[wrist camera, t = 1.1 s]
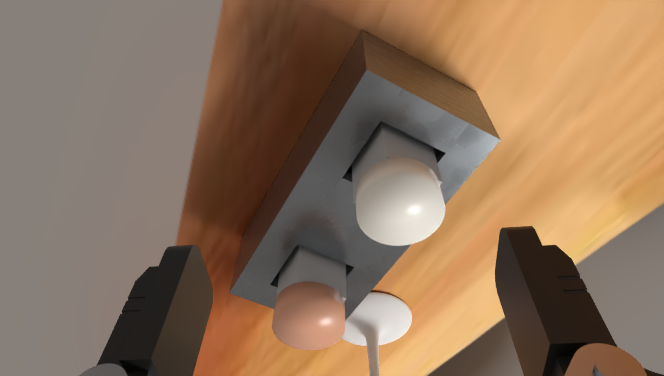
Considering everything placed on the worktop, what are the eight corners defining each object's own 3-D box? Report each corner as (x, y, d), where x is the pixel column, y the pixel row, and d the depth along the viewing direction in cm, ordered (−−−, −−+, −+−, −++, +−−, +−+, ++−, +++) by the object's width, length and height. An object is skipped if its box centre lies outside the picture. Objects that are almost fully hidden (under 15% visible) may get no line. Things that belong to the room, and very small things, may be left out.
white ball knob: (442, 137, 35) (463, 199, 29) (401, 190, 37) (412, 256, 32) (378, 104, 33) (386, 162, 27) (339, 162, 36) (340, 226, 30)
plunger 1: (355, 249, 41) (358, 318, 35) (325, 287, 44) (323, 357, 38) (298, 225, 39) (291, 293, 34) (270, 267, 42) (260, 336, 36)
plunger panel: (476, 92, 38) (500, 140, 32) (336, 272, 50) (336, 330, 44) (361, 29, 35) (366, 69, 30) (242, 235, 47) (229, 293, 41)
